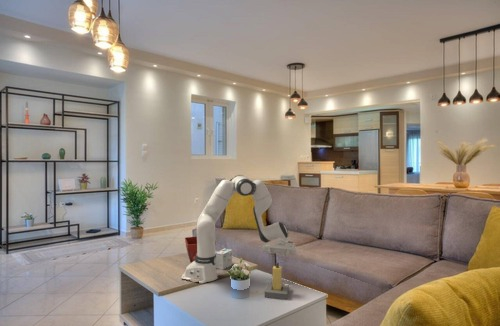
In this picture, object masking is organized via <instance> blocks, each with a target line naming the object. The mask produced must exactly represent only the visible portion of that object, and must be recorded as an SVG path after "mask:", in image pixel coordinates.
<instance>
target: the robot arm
mask: <svg viewBox="0 0 500 326" xmlns="http://www.w3.org/2000/svg"><path fill="white" fill-rule="evenodd" d="M236 193H237V194H239V195H240V196H243V197H248V196H252V199H253V201H254V206H253V209H252V210H253V216H254V220H255V224H256V227H257V231H258V235H259V236H258V238H259V240H260V241H261V242H263V243H264V244H263V246H262V252H263V253H268V254H270V255H272V254H278V255H284V256H289V255H291V256H296V255H297V247H296V243H295V242H294V241H293V242H292V241H290V238H289V231H288V228H287V226H286V224H285V223H283V222H281V221H277V222H274V223H272V224H270V225H266V226H265V225H264V222H263V217H262V215H263V213H265V212H266V211H267V210H268V209H270V206H271V205H272V203H273V199H272V195H271V192H270V191H269V189H268V187H267V186H266V184H265V182H263V180H261V179H255V180H251V179H250V178H248V177H247V176H245V175H243V174H238V175H235V176H234V177H232V178H231V179H222V180H221V181H220V182H219V183H218V185H217V186H216V187H215V189H214V190H213V192H212V194H211V196H210V198H209V200H208V202H207V203H206V204H205V207H204V208H203V209H202V211H201V213H200V215H199V216H198V218H197V222H196V236H197V254H196V255H195V257H194V259H195V261H193V262H192V263H191V262H190V263H189V264H188V265H187V266H186V268H185V271H184V273H183V274H182V275H181V278H183V279H191V278H194V279H199V280H201V281H199V283H198V284H206V283H207V282H213V281H215V280H218V278H219V275H218V271H217V268H216V245H215V241H216V223H217V221H218V220H219V218H220V217H221V216H222V214H223V212H224V211H225V209H226V208H227V206H228V204H229V202H230V200H231V199H232V197H233V195H235V194H236ZM273 240H275V242H274V243H269V242H271V241H273ZM217 276H218V277H217Z"/></svg>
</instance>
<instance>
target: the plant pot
mask: <svg viewBox="0 0 500 326" xmlns="http://www.w3.org/2000/svg"><path fill="white" fill-rule="evenodd" d="M184 240H185V241H184V242H185V248H186V252H187V256H188V259H189V262H190V264H191V263H192V262H193V261H195V259H194V257H195V255H196V254H197V235H196V236H186V237H184ZM216 245H217V243H216V240H215V246H216Z"/></svg>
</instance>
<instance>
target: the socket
mask: <svg viewBox="0 0 500 326" xmlns="http://www.w3.org/2000/svg"><path fill="white" fill-rule="evenodd" d="M289 292H290V284H289V283H288V284H287V283H285V284H284V283H282V291H279V290H273V282H267V285H266V287H265V289H264V298H267V299H268V298H269V299H277V300H286V301H287V300H288V298H289Z"/></svg>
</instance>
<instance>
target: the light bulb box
mask: <svg viewBox="0 0 500 326" xmlns="http://www.w3.org/2000/svg"><path fill="white" fill-rule="evenodd" d="M215 254H216V267H217V268H216V269H218V268H221V269H220V270H222V269H224V268H225V269H227V268H230V267H231V266H233V249H230V248H225V247H224V248H222V249H221V250H218V251H215ZM226 267H227V268H226ZM225 269H224V270H225Z"/></svg>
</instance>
